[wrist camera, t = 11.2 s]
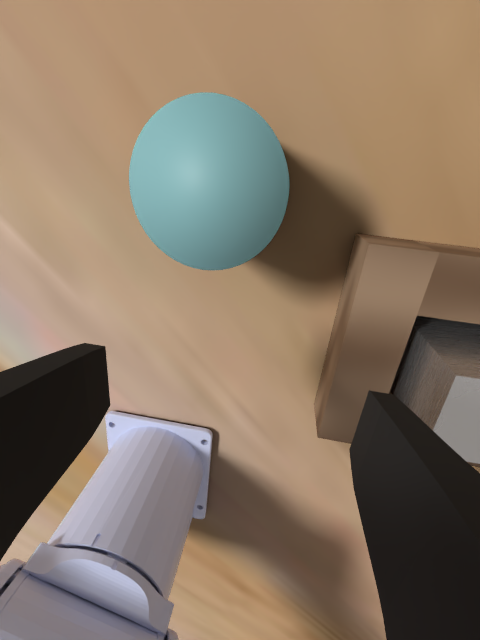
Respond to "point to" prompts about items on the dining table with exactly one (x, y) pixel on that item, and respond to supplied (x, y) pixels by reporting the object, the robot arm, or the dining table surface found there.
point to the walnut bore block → (388, 319)
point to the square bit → (444, 381)
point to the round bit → (209, 181)
